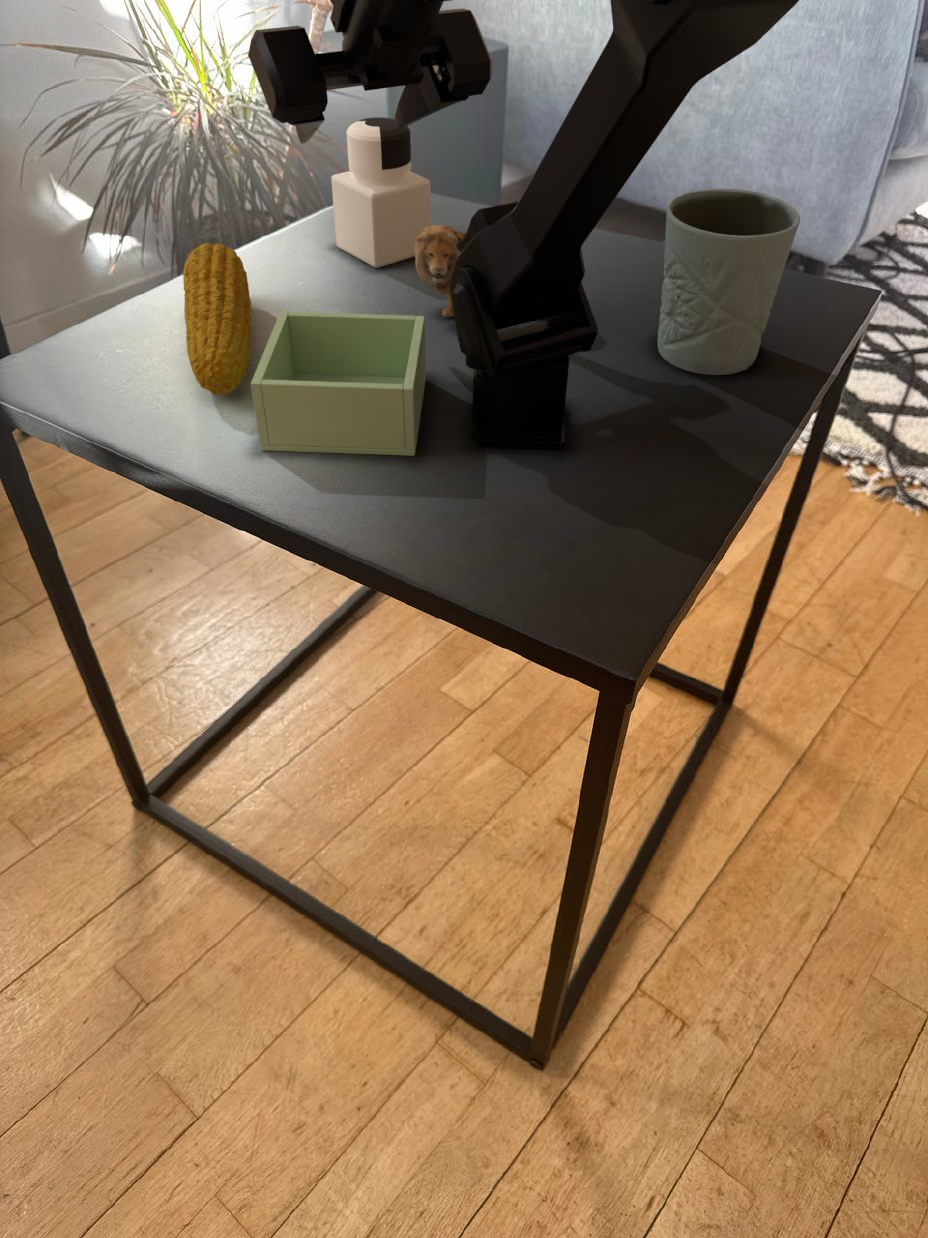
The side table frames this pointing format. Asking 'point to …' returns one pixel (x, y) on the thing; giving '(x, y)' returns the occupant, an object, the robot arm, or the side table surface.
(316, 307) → the side table surface
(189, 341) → the food
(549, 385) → the robot arm
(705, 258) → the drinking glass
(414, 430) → the bin
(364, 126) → the medicine bottle
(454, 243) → the lion figurine
